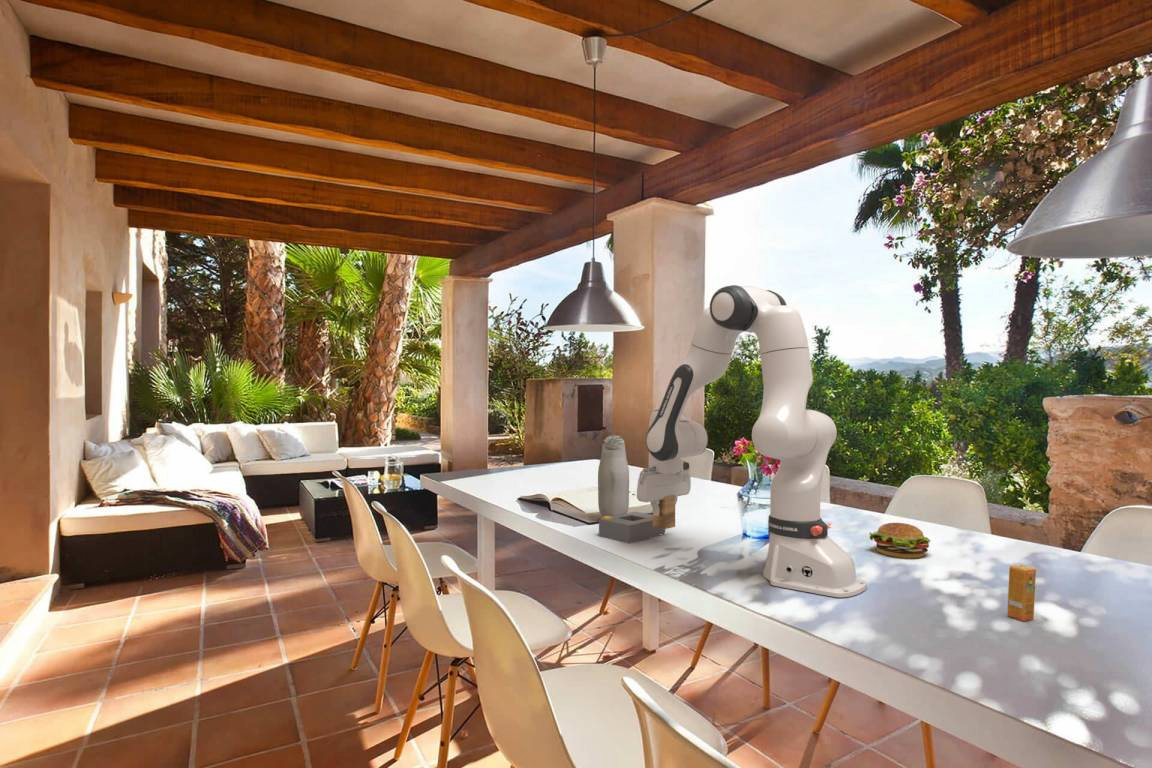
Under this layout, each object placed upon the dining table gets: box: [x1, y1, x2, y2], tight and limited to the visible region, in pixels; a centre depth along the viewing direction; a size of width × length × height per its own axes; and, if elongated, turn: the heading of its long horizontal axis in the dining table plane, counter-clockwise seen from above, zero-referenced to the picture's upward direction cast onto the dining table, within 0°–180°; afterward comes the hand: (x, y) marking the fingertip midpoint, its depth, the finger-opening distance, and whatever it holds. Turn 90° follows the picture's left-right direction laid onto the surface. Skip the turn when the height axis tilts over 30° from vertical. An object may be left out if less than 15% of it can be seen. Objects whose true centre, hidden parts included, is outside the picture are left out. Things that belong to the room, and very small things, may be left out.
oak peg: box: [652, 495, 676, 530], centre depth 186 cm, size 4×4×9 cm
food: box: [869, 522, 932, 559], centre depth 175 cm, size 14×14×8 cm
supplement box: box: [1007, 563, 1037, 622], centre depth 127 cm, size 3×3×10 cm
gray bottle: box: [597, 434, 630, 518], centre depth 214 cm, size 10×10×28 cm
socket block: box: [598, 511, 666, 544], centre depth 195 cm, size 12×16×6 cm
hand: (664, 513), depth 186 cm, fingers closed on oak peg, 4 cm apart
